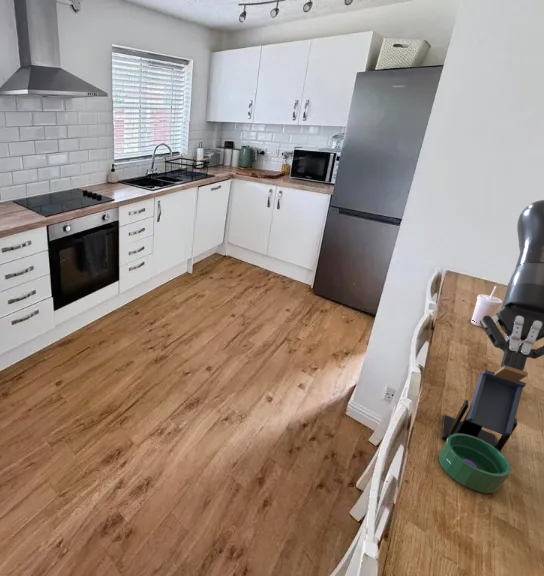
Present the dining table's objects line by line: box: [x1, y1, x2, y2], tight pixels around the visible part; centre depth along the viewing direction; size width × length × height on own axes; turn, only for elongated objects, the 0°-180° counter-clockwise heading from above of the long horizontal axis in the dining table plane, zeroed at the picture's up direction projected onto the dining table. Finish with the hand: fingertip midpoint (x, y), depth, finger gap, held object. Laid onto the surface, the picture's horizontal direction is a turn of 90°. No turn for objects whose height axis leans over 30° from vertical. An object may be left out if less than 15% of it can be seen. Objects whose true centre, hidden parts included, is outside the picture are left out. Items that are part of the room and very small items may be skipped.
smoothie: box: [470, 285, 503, 328], centre depth 121 cm, size 6×6×14 cm
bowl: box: [438, 433, 512, 494], centre depth 69 cm, size 9×9×5 cm
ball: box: [463, 459, 477, 468], centre depth 68 cm, size 3×3×3 cm
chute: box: [466, 366, 529, 436], centre depth 68 cm, size 10×6×8 cm
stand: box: [441, 399, 518, 452], centre depth 75 cm, size 9×9×10 cm
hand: (510, 372), depth 68 cm, fingers closed
